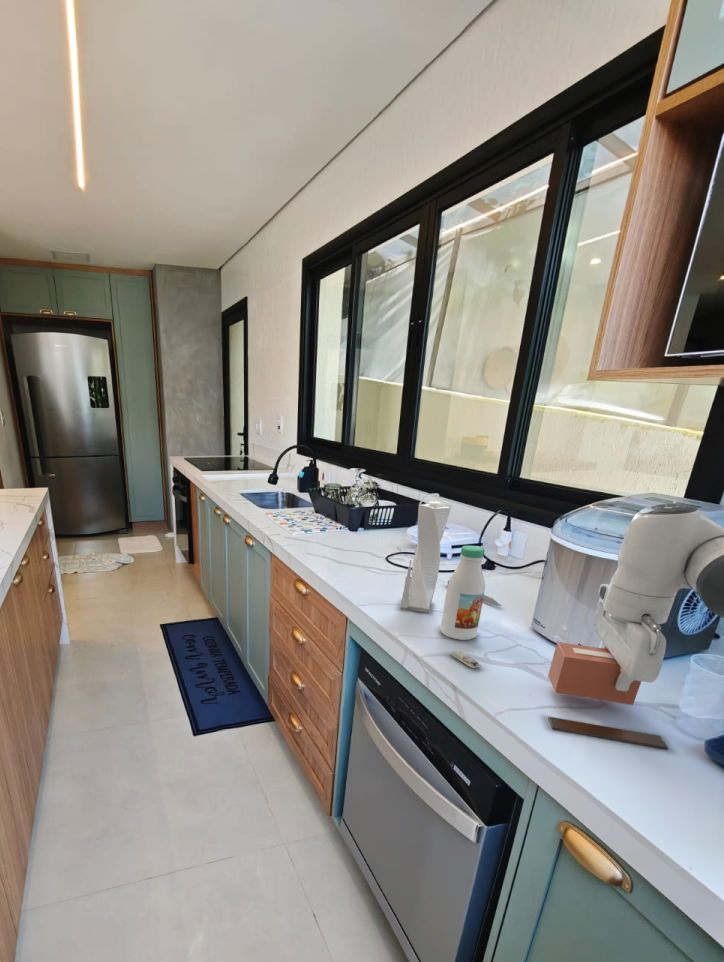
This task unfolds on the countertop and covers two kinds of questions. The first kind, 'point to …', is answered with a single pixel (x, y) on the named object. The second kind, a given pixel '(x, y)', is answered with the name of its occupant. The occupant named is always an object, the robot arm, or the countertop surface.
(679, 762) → the countertop surface
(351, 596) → the countertop surface
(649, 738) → the walnut ruler
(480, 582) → the milk bottle
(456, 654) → the granola bar
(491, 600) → the kitchen knife
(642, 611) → the robot arm
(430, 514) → the skyscraper
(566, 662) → the tissue box
